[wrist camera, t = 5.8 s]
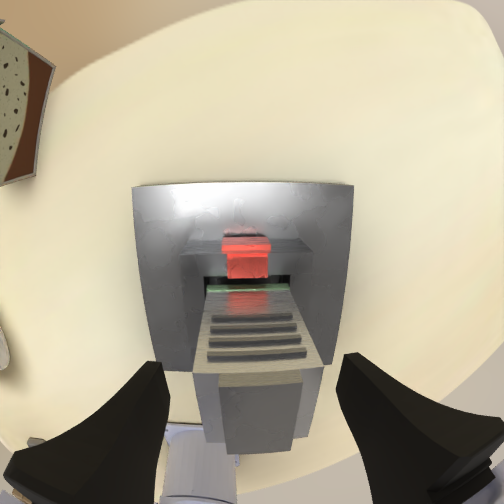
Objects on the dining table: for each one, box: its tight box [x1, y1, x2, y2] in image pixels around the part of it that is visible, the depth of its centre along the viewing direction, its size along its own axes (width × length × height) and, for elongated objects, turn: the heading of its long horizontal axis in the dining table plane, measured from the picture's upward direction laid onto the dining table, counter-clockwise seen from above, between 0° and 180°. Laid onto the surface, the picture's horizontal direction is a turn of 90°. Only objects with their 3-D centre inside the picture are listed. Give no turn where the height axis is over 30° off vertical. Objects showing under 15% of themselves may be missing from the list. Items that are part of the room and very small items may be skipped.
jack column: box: [192, 283, 324, 455], centre depth 11 cm, size 4×4×7 cm
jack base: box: [132, 181, 354, 372], centre depth 17 cm, size 14×14×5 cm
